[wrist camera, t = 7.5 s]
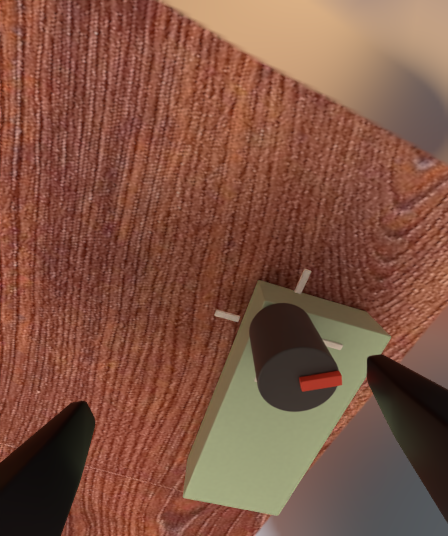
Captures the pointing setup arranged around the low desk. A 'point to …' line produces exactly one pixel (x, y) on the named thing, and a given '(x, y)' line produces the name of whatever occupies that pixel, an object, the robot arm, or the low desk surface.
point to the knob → (291, 359)
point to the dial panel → (274, 409)
